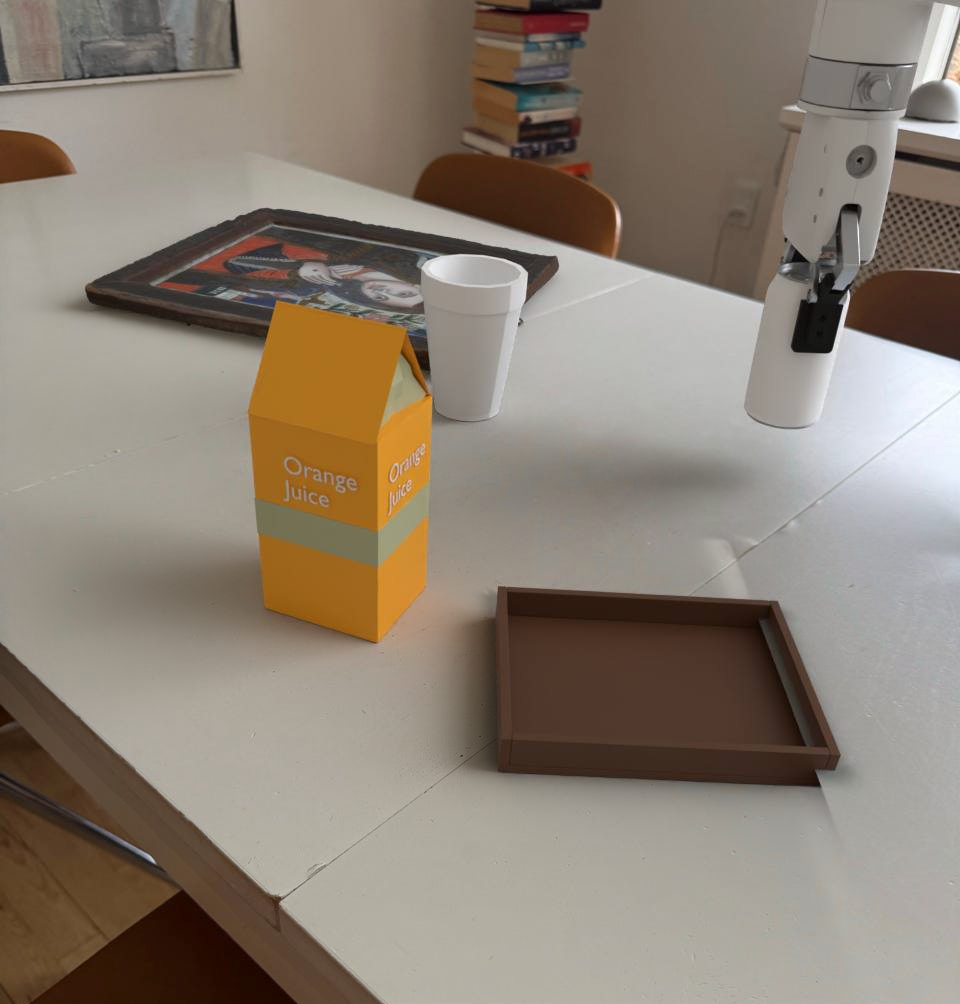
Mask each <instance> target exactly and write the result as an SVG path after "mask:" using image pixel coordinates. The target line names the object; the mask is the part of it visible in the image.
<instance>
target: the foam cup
mask: <svg viewBox="0 0 960 1004" xmlns="http://www.w3.org/2000/svg"><path fill="white" fill-rule="evenodd" d="M527 278H528V272H527V271H526V270H525V269H524V268H523V267H522V266H521V265H518V264H516V263H513V262H511V261H508V260H506V259H501V258H496V257H490V256H485V255H468V254H458V255H448V256H440V257H437V258H434V259H431V260H428V261H426V262H425V264H424V265H423V266H422V268H421V296H422V297H423V300H424V310H425V320H426V330H427V340H428V350H429V360H430V370H431V371H430V379H431V389H432V401H433V402H434V403H433V407H434V408H435V410H436V411H437V413H438V414H440V415H442V416H444V417H446V418H448V419H451V420H456V421H461V422H479V421H480V422H481V421H486V420H490V419H492V418H494V417H495V416H497V415H498V414H499V411H500V408H501V404H502V400H503V395H504V391H505V386H506V383H507V377H508V373H509V368H510V363H511V360H512V359H511V358H512V355H513V350H514V344H515V340H516V335H517V332H518V326H519V324H518V322H520V320H519V317H520V318H521V312H522V308H523V307H524V305H525V304H524V302H525V299H526V289H527ZM523 304H524V305H523Z"/></svg>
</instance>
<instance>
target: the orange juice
mask: <svg viewBox="0 0 960 1004" xmlns="http://www.w3.org/2000/svg"><path fill="white" fill-rule="evenodd" d="M406 330H407V328H404V327H400V326H395V325H390V324H386V323H381V322H376V321H372V320H367V319H362V318H358V317H353V316H348V315H343V314H339V313H334V312H329V311H325V310H320V309H315V308H311V307H306V306H301V305H297V304H292V303H287V302H283V301H278V300H276V304H275V308H274V312H273V316H272V320H271V323H270V327H269V331H268V335H267V339H266V338H265V343H264V347H263V350H262V355H261V358H260V362H259V366H258V370H257V374H256V378H255V381H254V386H253V390H252V393H251V397H250V400H249V404H248V408H247V412H246V414H247V416H248V427H249V438H250V451H251V452H250V453H251V461H252V462H251V463H252V474H253V475H252V476H253V483H254V484H253V487H254V508H255V520H256V521H255V522H256V532H257V534H258V545H259V557H260V569H261V571H260V572H261V582H262V593H263V605H264V609H267V610H269V611H272V612H277V613H279V614H283V615H286V616H290V617H292V618H296V619H299V620H302V621H306V622H308V623H311V624H315V625H319V626H321V627H324V628H327V629H331V630H334V631H338V632H340V633H344V634H347V635H351V636H354V637H356V638H360V639H362V640H366V641H370V642H373V643H376V644H378V643H379V642H381V640H382V639H383V638H384V636H385V635H387V633H388V632H389V631H390V630H391V628H392V627H393V626H394V625H395V623H396V622H397V621H399V619H400V618H401V617H402V615H404V613H405V612H406V611H407V610H408V608H410V606H411V605H412V604H413V602H414V601H415V600H416V599H417V598H418V597H419V595H420V594H421V593H422V592H423V591H424V589H426V587H427V564H428V562H427V561H428V537H429V536H428V535H429V534H428V533H429V515H430V503H431V502H430V501H431V500H430V498H431V497H430V496H431V479H430V474H431V470H430V469H431V447H432V445H431V444H432V421H433V420H432V417H433V394H432V395H431V394H430V391H429V389H428V386H427V382H426V381H425V377H424V375H423V372H422V369H420V367H419V364H418V361H417V359H416V356H415V353H414V351H413V348H412V345H411V343H410V340H409V337H408V335H407V332H406Z"/></svg>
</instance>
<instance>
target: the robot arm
mask: <svg viewBox="0 0 960 1004" xmlns="http://www.w3.org/2000/svg"><path fill="white" fill-rule="evenodd" d="M934 3H936V4H942V5H948V6H952V7H956V8H960V0H817V3H816V8H815V9H816V10H815V15H814V20H813V24H812V29H811V33H810V39H809V44H808V50H807V54H806V58H805V62H804V68H803V73H802V78H801V83H800V88H799V94H798V100H797V104H796V107H797V109H799V110H801V111H804V112H805V116H804V120H803V123H802V126H801V129H800V134H799V138H798V142H797V146H796V150H795V154H794V158H793V162H792V164H791V165H792V166H791V171H790V175H789V178H788V179H789V180H788V183H787V188H786V194H785V199H784V203H783V209H782V216H781V230H782V233H783V235H784V239H783V242H784V243H785V244H784V247H783V250H782V253H781V256H780V259H779V266H780V265H783V264H786V263H794V262H806V263H810V265H809V276H808V286H807V297H806V299H801V302H800V306H799V311H798V315H797V320H796V324H795V329H794V333H793V338H792V342H791V349H792V350H793V351H794V352H796V353H822V354H828V353H830V352H831V351H832V350H833V346H834V342H835V338H836V334H837V330H838V326H839V322H840V318H841V314H842V310H843V306H844V304H845V303H846V300H847V296H848V290H849V291H850V288H851V287H852V286H853V282H854V279H855V278H856V276H857V275H858V274H859V271H860V267H861V266H866V265H868V264H870V262H871V261H873V259H874V257H875V253H876V249H877V246H878V240H879V238H880V237H879V236H880V231H881V227H882V223H883V218H884V213H885V210H886V209H885V208H886V203H887V201H888V200H887V199H888V194H889V190H890V185H891V180H892V179H891V178H892V173H893V168H894V163H895V156H896V149H897V142H898V141H897V140H898V131H899V122H900V121H899V119H902V118H904V117H905V116H906V112H907V109H908V105H909V102H910V101H909V100H910V97H911V92H912V89H913V85H914V81H915V78H916V73H917V71H918V65H919V61H920V59H921V58H920V57H921V53H922V49H923V46H924V43H925V38H926V35H927V31H928V27H929V23H930V18H931V16H932V11H933V7H934ZM823 253H836V257H834V258H831V257H823ZM821 269H833V272H832V273H827V274H826V275H825V277H824V278H823V279H822V281H821V282H820V274H821Z"/></svg>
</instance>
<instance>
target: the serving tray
mask: <svg viewBox="0 0 960 1004" xmlns="http://www.w3.org/2000/svg"><path fill="white" fill-rule="evenodd" d="M496 592H497V593H496V602H495V603H496V604H495V617H494V618H495V619H494V621H495V624H494V625H495V629H494V630H495V675H496V676H495V683H496V687H495V688H496V690H495V691H496V732H497V733H496V736H497V737H496V742H497V743H496V744H497V745H496V746H497V772H499V773H513V774H514V773H516V774H535V775H537V774H539V775H559V776H580V777H599V778H600V777H601V778H621V779H622V778H623V779H643V780H644V779H645V780H666V781H667V780H668V781H669V780H670V781H687V782H688V781H689V782H707V783H708V782H709V783H710V782H711V783H731V784H736V783H737V784H753V785H755V784H757V785H776V786H795V787H796V786H799V787H817V788H818V787H820V788H821V787H822V784H821V781H820V779H819V776H818V774H817V771H819V770H820V771H836V769H837V767H838V764H839V761H840V758H841V757H842V756H841V755H842V754H841V752H840V749H839V746H838V744H837V742H836V739H835V737H834V734H833V732H832V729H831V727H830V724H829V723H828V720H827V717H826V715H825V712H824V710H823V707H822V705H821V703H820V700H819V698H818V695H817V693H816V691H815V688H814V686H813V684H812V683H813V682H812V681H811V678H810V676H809V673H808V671H807V668H806V666H805V664H804V661H803V660H802V659H803V658H802V656H801V654H800V652H799V649H798V647H797V645H796V642H795V640H794V637H793V635H792V632H791V630H790V628H789V625H788V622H787V620H786V618H785V615H784V613H783V611H782V608H781V605H780V603H779V601H778V600H773V599H772V600H771V599H768V600H767V599H752V598H751V599H747V598H730V597H729V598H728V597H712V596H711V597H710V596H693V595H692V596H691V595H676V594H675V595H673V594H672V595H671V594H655V593H635V592H616V591H615V592H614V591H597V590H579V589H578V590H577V589H561V588H560V589H559V588H541V587H521V586H520V587H519V586H505V585H498V586H497V591H496ZM761 620H766V621H767V624H768V625H769V628H770V631H771V634H772V637H773V639H774V642H775V644H776V646H777V649H778V652H779V655H780V657H781V660H782V662H783V665H784V667H785V670H786V673H787V675H788V678H789V680H790V683H791V685H792V688H793V690H794V694H795V696H796V699H797V701H798V704H799V707H800V709H801V711H802V714H803V716H804V719H805V721H806V724H807V727H808V730H809V732H810V734H811V737H812V740H813V743H814V744H815V746H807V745H806V741H805V738H804V736H803V733H802V731H801V728H800V725H799V722H798V721H797V717H796V715H795V712H794V709H793V707H792V703H791V701H790V698H789V696H788V693H787V691H786V689H785V686H784V682H783V680H782V677H781V675H780V673H779V670H778V666H777V664H776V661H775V659H774V656H773V654H772V650H771V648H770V645H769V643H768V641H767V637H766V635H765V632H764V630H763V627H762V623H761V622H760V621H761Z"/></svg>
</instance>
